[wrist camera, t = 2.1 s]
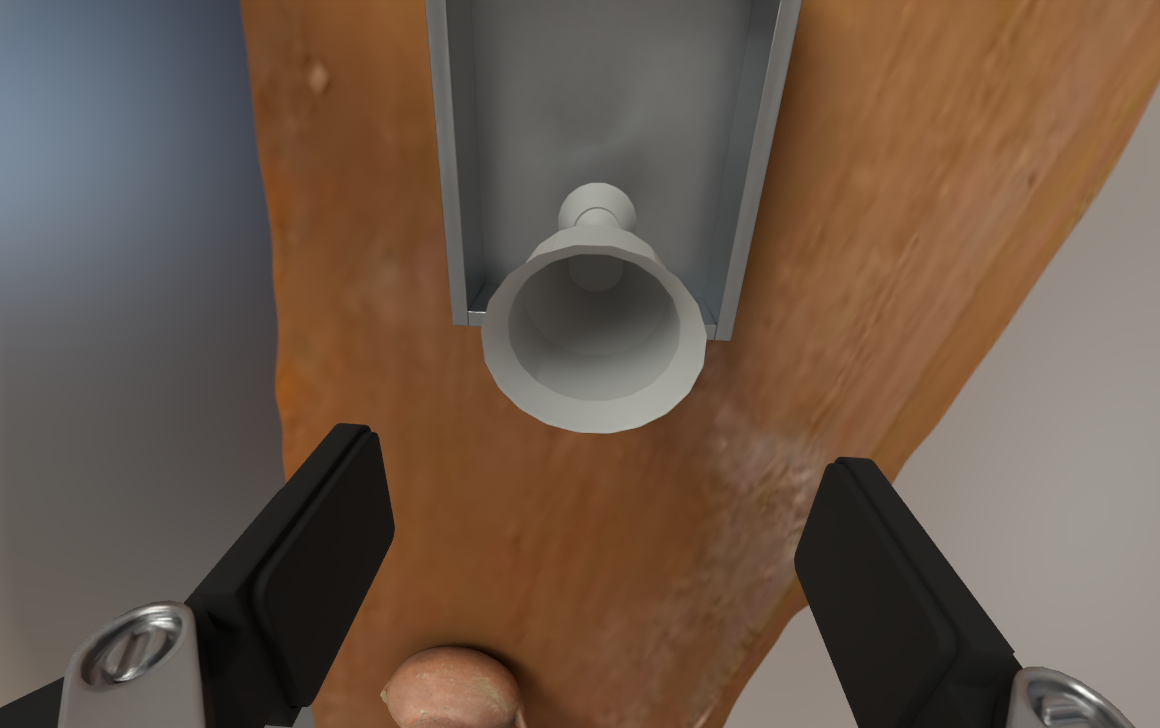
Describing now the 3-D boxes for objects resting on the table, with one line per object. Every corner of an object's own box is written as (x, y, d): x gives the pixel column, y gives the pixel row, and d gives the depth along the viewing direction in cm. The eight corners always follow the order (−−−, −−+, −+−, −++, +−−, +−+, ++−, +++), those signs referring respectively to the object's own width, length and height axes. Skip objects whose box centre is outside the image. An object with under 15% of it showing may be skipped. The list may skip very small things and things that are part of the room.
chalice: (665, 178, 30) (734, 266, 15) (641, 282, 34) (677, 447, 18) (547, 157, 30) (487, 225, 14) (535, 265, 33) (475, 417, 17)
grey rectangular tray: (472, 295, 35) (452, 325, 30) (449, -74, 25) (414, -112, 21) (713, 308, 35) (730, 341, 30) (781, -58, 25) (822, -94, 20)
